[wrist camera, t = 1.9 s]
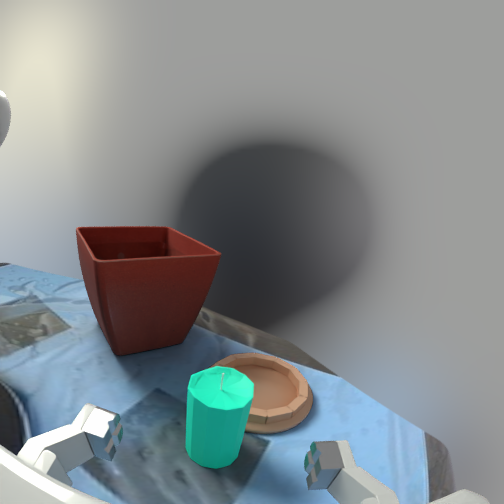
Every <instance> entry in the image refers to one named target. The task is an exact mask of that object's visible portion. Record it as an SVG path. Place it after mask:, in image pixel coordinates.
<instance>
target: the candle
mask: <svg viewBox="0 0 504 504" xmlns="http://www.w3.org/2000/svg"><path fill="white" fill-rule="evenodd" d="M253 393H254V383H253V382H252V381H251V380H250V379H249V378H248V377H247V376H246V375H244V374H243V373H241V372H239V371H237V370H235V369H233V368H228V367H220V366H215V367H212V368H209V369H206V370H203V371H200V372H198V373H195V374H193V375H191V378H190V381H189V385H188V393H187V416H186V450H187V452H188V455H189V457H190V459H192V460H193V461H195V462H196V463H198V464H199V465H201V466H203V467H208V468H215V469H218V468H222V467H225V466H229V465H230V464H231V463H232V462H233V461H234V460H235V459H236V458H237V457H238V454H239V450H240V446H241V443H242V439H243V435H244V431H245V427H246V424H247V420H248V416H249V412H250V408H251V404H252V400H253Z"/></svg>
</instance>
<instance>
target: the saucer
mask: <svg viewBox="0 0 504 504" xmlns="http://www.w3.org/2000/svg"><path fill="white" fill-rule="evenodd" d="M215 366H220V367H228V368H233V369H235V370H237V371H239V372H241V373H243V374H244V375H246V376H247V377H248V378H249V379H250V380H251V381H252V382H253V383H254V393H253V400H252V404H251V408H250V412H249V416H248V420H247V424H246V427H245V432H250V433H256V434H272V433H279V432H283V431H286V430H289V429H291V428H293V427H295V426H297V425H298V424H300V423H301V422H302V421H303V420H304V419H305V418H306V417H307V415H308V413H309V411H310V409H311V407H312V403H313V395H312V391H311V388H310V386H309V384H308V382H307V380H306V379H305V378H304V377H303V376H302V374H301V373H300V372H299V371H298V369H297V368H295V367H294V366H292V365H290V364H289V363H287V362H285V361H283V360H281V359H279V358H276V357H273V356H268V355H263V354H259V353H255V354H254V353H242V354H233V355H230V356H228V357H226V358H224V359H222V360H220V361H218V362H216V363H215V364H213V365H212V366H210V367H209V368H212V367H215ZM209 368H208V369H209Z"/></svg>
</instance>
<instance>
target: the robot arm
mask: <svg viewBox="0 0 504 504" xmlns="http://www.w3.org/2000/svg"><path fill="white" fill-rule="evenodd" d="M10 118H11V111H10V106H9V102H8V99H7V97H6V95H5V94H4V93H3V92H2V91H1V90H0V146H1V145H2V143H3V141H4V140H5V137H6V135H7V132H8V130H9V126H10ZM119 421H120V415H119V414H117V413H114V412H111V411H108V410H106V409H103V408H100V407H98V406H95V405H92V404H90V403H87V404H85V405H84V407H83V408H82V410H81V411H80V413H79V414H78V416H77V417H76V419H75V420H74V422H73V423H72V425H66V426H63V427H60V428H58V429H55V430H53V431H50V432H47V433H44V434H42V435H39V436H36V437H33V438H30V439H29V440H28V441H27V442H26V444H25V445H24V447H23V448H22V449H21V451H20V452H19V453H18V455H17V456H16V455H14V454H13V453H11V452H10V451H8V450H7V449H5V448H4V447H3V446H1V445H0V504H111V503H108V502H105V501H103V500H100V499H98V498H95V497H93V496H90V495H88V494H86V493H83V492H81V491H79V490H77V489H75V488H72V487H71V486H72V481H71V480H70V478H69V477H68V475H67V474H66V473H67V472H69V471H71V470H72V469H74V468H76V467H77V466H79V465H81V464H83V463H84V462H86V461H88V460H89V459H91V458H92V457H94V456H97V457H100V458H102V459H105V460H108V461H112V459H113V457H114V455H115V453H116V449H115V446H117V445H119V444H120V442H121V439H122V435H123V428H122V425H121V424H120V423H119ZM310 449H311V450H310V451H309V452H307V454H306V456H305V461H304V467H305V471H306V472H307V473H308V474H309V475H308V477H307V478H306V480H307V485H308V490H320V489H327V491H328V492H329V493H330V494H331V495H332V496H333V497H334V498H335V499H336V500H337V501H338V502H339V503H340V504H399V502H398V499H397V496H396V494H395V492H394V491H393V490H391V489H390V488H388V487H387V486H385V485H384V484H383V483H381V482H380V481H378V480H377V479H376V478H374V477H373V476H372V475H370V474H369V473H367V472H366V471H365V470H363V469H362V468H361V467H357V466H356V463H355V460H354V457H353V455H352V452H351V449H350V446H349V443H348V441H347V440H344V441H320V442H313V443H312V444H311V446H310ZM428 504H490V503H489V501H488V500H487V499H486V498H485V497H482V496H481V495H479V494H476V493H474V492H472V491H469V490H466V489H463V490H460V491H457V492H455V493H453V494H450V495H448V496H446V497H443V498H441V499H438V500H436V501H433V502H431V503H428Z"/></svg>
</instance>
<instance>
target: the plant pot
mask: <svg viewBox="0 0 504 504" xmlns="http://www.w3.org/2000/svg"><path fill="white" fill-rule="evenodd" d="M76 235H77V245H78V253H79V260H80V265H81V270H82V275H83V279H84V283H85V287H86V290H87V294H88V297H89V300H90V303H91V306H92V309H93V311H94V314H95V317H96V319H97V321H98V323H99V325H100V327H101V329H102V331H103V333H104V335H105V337H106V339H107V341H108V343H109V345H110V347H111V349H112V351H113V353H114V354H116V355H126V354H132V353H137V352H142V351H147V350H152V349H157V348H161V347H166V346H171V345H175V344H180V343H182V342H183V341H184V339H185V338H186V336H187V335H188V333H189V331H190V329H191V327H192V326H193V324H194V322H195V320H196V318H197V316H198V314H199V312H200V310H201V308H202V305H203V303H204V301H205V299H206V296H207V294H208V292H209V289H210V287H211V284H212V281H213V278H214V276H215V273H216V270H217V267H218V264H219V260H220V256H221V253H220V252H218V251H216V250H214V249H212V248H210V247H208V246H206V245H204V244H202V243H200V242H199V241H196V240H195V239H193V238H191V237H188V236H186V235H184V234H182V233H180V232H178V231H176V230H174V229H172V228H170V227H156V226H152V227H150V226H145V227H144V226H141V227H140V226H135V227H134V226H132V227H131V226H130V227H129V226H126V227H125V226H120V227H78V228H76Z"/></svg>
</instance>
